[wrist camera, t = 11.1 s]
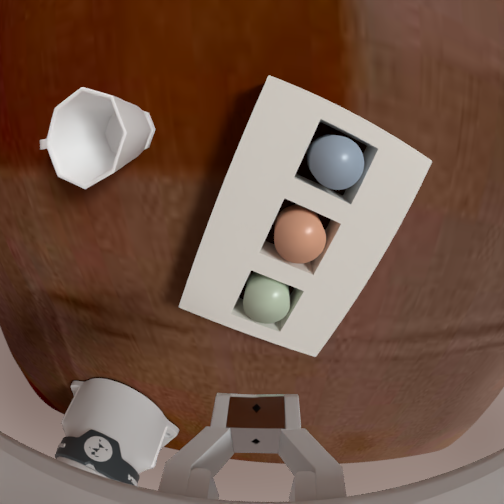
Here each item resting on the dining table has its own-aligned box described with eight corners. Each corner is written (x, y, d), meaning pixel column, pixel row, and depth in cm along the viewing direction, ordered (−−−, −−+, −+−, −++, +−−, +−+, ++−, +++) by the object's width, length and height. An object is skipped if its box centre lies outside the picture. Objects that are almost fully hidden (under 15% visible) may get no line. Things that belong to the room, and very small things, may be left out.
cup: (170, 168, 25) (128, 188, 17) (78, 172, 25) (24, 193, 18) (170, 89, 22) (127, 77, 15) (76, 103, 23) (19, 105, 15)
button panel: (313, 337, 31) (315, 357, 28) (186, 290, 30) (178, 307, 27) (416, 156, 22) (432, 161, 20) (269, 81, 21) (268, 75, 18)
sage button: (278, 310, 29) (277, 329, 27) (239, 296, 29) (236, 314, 26) (296, 278, 28) (297, 295, 25) (256, 261, 27) (253, 277, 25)
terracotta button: (308, 255, 27) (311, 270, 24) (267, 238, 26) (265, 252, 24) (328, 216, 25) (334, 227, 22) (286, 196, 25) (287, 206, 22)
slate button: (341, 190, 24) (349, 198, 21) (298, 169, 24) (301, 175, 21) (361, 148, 23) (372, 151, 20) (318, 126, 22) (324, 126, 19)
